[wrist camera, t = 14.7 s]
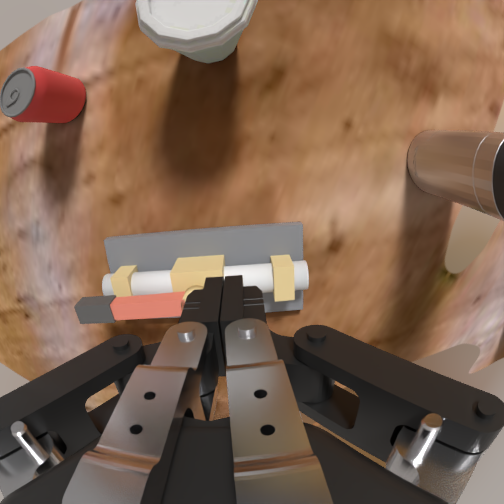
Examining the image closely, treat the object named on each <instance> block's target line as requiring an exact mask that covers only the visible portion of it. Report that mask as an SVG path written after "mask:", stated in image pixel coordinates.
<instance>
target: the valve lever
mask: <svg viewBox="0 0 504 504" xmlns="http://www.w3.org/2000/svg"><path fill="white" fill-rule="evenodd" d="M203 288H204V287H203V286H199V285H194V286H191V287H189V288H188V289H187V290H186V291H182V292H172V293H161V294H149V295H137V296H125V297H116V295H109V296H96V297H82V298H81V299H80V301H79V302H78V303H77V304H76V305H75V306H74V307H75V310H76V313H77V316H78V318H79V321H80V324H90V323H115V322H116V320H129V319H146V318H161V317H175V316H181V314H182V310H183V307H184V304H185V301H186V298H187V296H188V295H189V294H190V293H191V292H192V291H193V290H197V289H203Z"/></svg>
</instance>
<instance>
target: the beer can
mask: <svg viewBox="0 0 504 504" xmlns="http://www.w3.org/2000/svg"><path fill="white" fill-rule="evenodd" d="M85 98H86V92H85V87H84V85H83V83H82V82H81V81H80V80H79V79H76V78H74V77H71V76H68V75H64V74H61V73H58V72H55V71H52V70H48V69H45V68H42V67H38V66H31V67H26V68H18V69H17V70H15V71H13V72H12V73H11V74H10V75H9V76H8V78H7V79H6V81H5V82H4V84H3V87H2V89H1V94H0V107H1V110H2V112H3V113H4V115H6V116H8V117H11V118H12V119H14V120H16V121H19V122H46V123H67V122H69V121H71V120H73V119H74V118H75V117H77V116H78V114H79V113H80V112H81V110H82V108H83V106H84V104H85Z"/></svg>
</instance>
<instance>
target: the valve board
mask: <svg viewBox="0 0 504 504" xmlns="http://www.w3.org/2000/svg"><path fill="white" fill-rule="evenodd" d="M104 244H105V249H106V254H107V259H108V263H109V268H110V272H111V274H106V275H105V276H104V278H103V282H102V290H103V294H104V296H109V295H116V297H125V296H137V295H149V294H161V293H172V292H182V291H186V290H187V289H188V288H189V287H191V286H194V285H199V286H203V287H204V283H205V279H206V277H221V276H224V279H225V276H235V275H243V286H257V287H258V288H259V289H260V290H262V294H263V301H264V308H265V313H266V312H278V311H290V310H301V309H303V290H304V289H308V285H309V275H308V267H307V263H306V261H303V224H302V223H301V222H288V223H272V224H257V225H243V226H230V227H216V228H204V229H191V230H180V231H168V232H157V233H146V234H135V235H125V236H115V237H108V238H106V239H105V240H104ZM180 317H181V316H175V317H161V318H180Z"/></svg>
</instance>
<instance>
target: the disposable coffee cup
mask: <svg viewBox="0 0 504 504" xmlns="http://www.w3.org/2000/svg"><path fill="white" fill-rule="evenodd" d="M257 2H258V0H137V1H136V10H137V16H138V22H139V27H140V29H141V31H142V32H143V33H144V34H145V35H147V36H148V37H149V38H150V39H151V40H152V41H153V42H154V43H156V44H157V45H158V46H159V47H161V48H167V49H172V50H175V51H177V52H179V53H181V54H183V55H185V56H187V57H189V58H191V59H193V60H195V61H200V62H204V63H212V62H217V61H221V60H223V59H225V58H226V57H227V56H228V55H230V54H231V53H232V52H233V51H234V49H235V47H236V45H237V43H238V40H239V38H240V36H241V34H242V32H243V29H244V28H245V27H247V26H248V24H249V21H250V19H251V16H252V14H253V12H254V9H255V7H256V5H257Z"/></svg>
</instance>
